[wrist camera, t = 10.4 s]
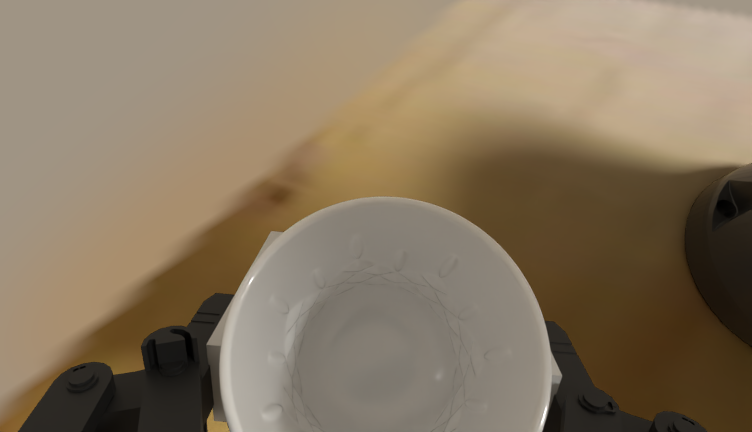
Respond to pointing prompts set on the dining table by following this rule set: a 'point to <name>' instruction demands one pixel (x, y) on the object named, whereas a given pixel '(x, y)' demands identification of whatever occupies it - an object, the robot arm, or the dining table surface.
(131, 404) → the robot arm
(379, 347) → the white cup
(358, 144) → the dining table surface
